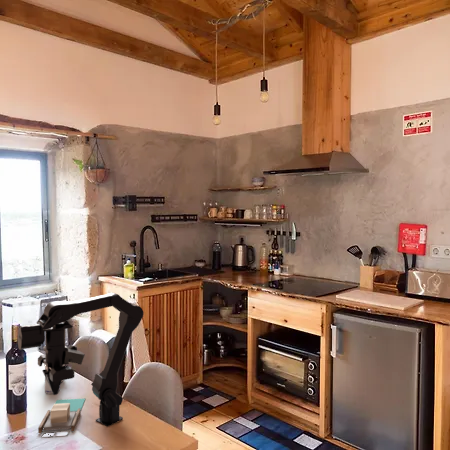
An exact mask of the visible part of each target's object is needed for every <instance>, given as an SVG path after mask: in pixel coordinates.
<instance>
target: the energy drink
mask: <svg viewBox="0 0 450 450" xmlns="http://www.w3.org/2000/svg"><path fill="white" fill-rule="evenodd" d="M44 383H45V384H44V386H45V387H44V393H46V394H47V395H53V393H52V391H51V389H50V386H49V384H48V382H47V380H46V378H45V377H44ZM60 390H61V386H60V387H59V390H58V393H59V392H60Z"/></svg>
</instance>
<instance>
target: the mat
mask: <svg viewBox="0 0 450 450" xmlns="http://www.w3.org/2000/svg"><path fill="white" fill-rule="evenodd" d="M85 402H86V398H70V399H69V398H67V399H57V400H56V401H55V402H54V404H62V403H70V412H72V411H76V413H77V410H78V408H81V410H82V409H83V406H84V404H85ZM50 414H51V411H50Z"/></svg>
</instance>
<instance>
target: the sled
mask: <svg viewBox="0 0 450 450" xmlns="http://www.w3.org/2000/svg"><path fill="white" fill-rule="evenodd" d="M50 412H51V413H50V416H49V418H48V420H47V422H46V424H45V426H44V429H43V431H55V430H71V425H72V423H73V420H74V418H75V415H76V413H77V412H76V411H72V412H70V403H62V404H55V403H54V404H53V405H52V407H51V409H50Z"/></svg>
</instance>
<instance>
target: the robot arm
mask: <svg viewBox="0 0 450 450" xmlns="http://www.w3.org/2000/svg"><path fill="white" fill-rule="evenodd" d="M110 307H113V308H114V309H115V310H117V311H119V315H118V329H117V331H116V334H115V338H114V341H113V344H112V346H111V349H110V352H109V354H108V357H107V359H106V363H105V366H104V368H103V370H102V371H101V372H100V373H97V372H95V374H94V379H93V381H92V382H91V386H92V387H91V391H92V393H93V395H94V396H95V397H96V398H97V399H98V400H99V405H98V406H99V411H98V412H99V413H98V417H97V418H96V419H95V422H97V423H99V424H102V425H104V426H106V427H110V426H113V425H114V424H116V423H118V422H120V421H123V420H124V417H123V416H121V415H120V408H121V407H120V406H121V405H122V402H123V400H124V397H122V396H121V395H120V394H119V393H117V389H118V382H119V381H118V375H119V371H120V367H121V365H122V362H123V359H124V357H125V353H126V351H127V348H128V346H129V342H130V339H131V337H132V333H133V332H134V331H135V330H136V328H137V327H138V326H139V325H140V323H141V321H142V319H143V317H144V313H145V312H144V310H143V308H142V307H141V306H139V305H137V304H135V303H132V302H129V301H128V300H126V299H125V298H123V297H121V296H120V294H117V293H115V292H108V293H106V294H102V295H97V296H93V297H89V298H88V297H87V298H83V299H79V300H72V301H71V300H70V301H67V300H60V301H59V300H58V301H50V302H48V303H46V306H45V307H44V309H43V313H42V315H40V317H39V319H38V320H37V321H36V324H25V325H24V324H23V325H19V329H18V335H17V336H16V337H17V347H18V349H19V351H20V350H27V349H33V348H40V347H41V346H42V345H44V343H45V346H43V351H44V353H45V354H41V355H39V356H38V358H37V365H38V367H42V366H43V365H44V369H43V370H42V373H43V376H44V379H45V378H46V380H47V382H48V384H49V386H50V389H51V391H52V393H53V394H52V395H53V396H56V395H58V394H59V392H58V390H59V387H60V388H61V383H62V382H63V381H67V380H72V379H74V378H75V370H74V369H73V368H72V367H71V366H70V365H69V363H72V364H73V363H74V364H77V365H82V363H83V361H84V358H85V356H86V355H85V353H84V352H83V351H81V350H80V349H79V350H78V348H77V346H76V345H73V344H71V345H70V346H69V347H67V345H66V329H72V328H73V324H71V323H69V320H71V319H72V318H74V317H75V316H77V315H82V314H85V313H89V312H93V311H97V310H101V309H105V308H110ZM63 365H65V366H63ZM62 380H63V381H62ZM61 381H62V382H61Z"/></svg>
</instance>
